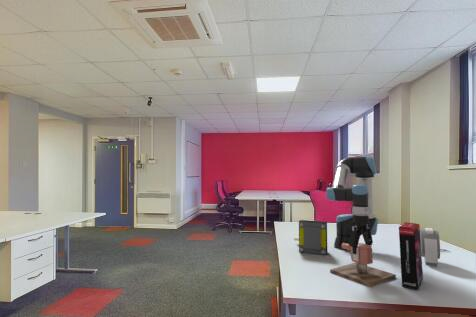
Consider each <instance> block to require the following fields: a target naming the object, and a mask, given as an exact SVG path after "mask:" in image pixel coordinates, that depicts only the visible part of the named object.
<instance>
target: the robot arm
mask: <svg viewBox="0 0 476 317" xmlns="http://www.w3.org/2000/svg"><path fill="white" fill-rule="evenodd" d="M334 172H335V174H334V179H333V182H332V184H331V185H332V186H331V187H327V188H326V190H325V191H326V192H325V193H326V200H327V201H334V202H352V213H351V214H350V213H345V214H339V215H337V216H336V219H335V220H336V221H335V223H336V226H335V227H336V236H335V239H334V245H333V248H335V249H338V250H343V251H348V250H347V249H343V248H342V246H341V245H342V243H346V244H349V246H351V247H352V251H353V260H355V261H359V253H358V248H357V246H358V243H360V242H359V241H360V239H361V236H362V237H363V238H362V239H363V241H364V244H368V245H371V246H373V243H374V240H373V237H372V236H376V235H377V231H378V224H379V219H378V218H377V217H376V215H375V213H374V210H373V208H374V207H373V182H372V181H373V179H374V178H375V175H376V174H377V167H376V162H375V159H374V157H372V156H352V157H351V156H350V157H348V156H347V157H346V158H343V159H342V160H340V161H339V162H337V164H336V166H335V168H334ZM349 175H354V176H355V177H354V178H356V179H357V184H353V185H352V186H351V187H346V186H347V181H348V176H349Z"/></svg>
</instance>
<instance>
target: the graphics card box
mask: <svg viewBox="0 0 476 317" xmlns="http://www.w3.org/2000/svg"><path fill="white" fill-rule="evenodd" d="M420 230H421V226H420V224H419V223H416V222H407V221H406V222H404V223H402V224H401V225H400V226H398V236H399V240H398V241H399V255H400V256H399V257H400V273H401V276H400V277H401V287H403V288H408V289H412V290H417V291H418V290H419V288H420V286H421V284H422V282H423V280H424V275H423V274H424V272H423V257H422V255H421V240H420Z"/></svg>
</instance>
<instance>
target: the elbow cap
mask: <svg viewBox="0 0 476 317" xmlns="http://www.w3.org/2000/svg"><path fill="white" fill-rule="evenodd" d="M341 246H342V248H343V249H347V250H346V251H350V259H351V261H352V263H355V262H356V263H360V264H367V265H371V264H373V259H374V258H373V248H372V246H373V245H368V244H365V243H362V242H358V246H357V248H358V253H359V261H355V260H353V251H352V247H351V246H349V244H346V243H342V245H341Z"/></svg>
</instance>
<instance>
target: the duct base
mask: <svg viewBox="0 0 476 317" xmlns="http://www.w3.org/2000/svg"><path fill="white" fill-rule="evenodd" d="M329 272H330V274H331V273H332V274H334V275H336V276H339V277H343V278H344V279H348V280H350V281H353V282H355V283H358V284H360V285H361V284H362V285H364V286H367V287H370V288H371V287H373V286H376V285H380V284H382V283H384V282H388V281H390V280H393V279H395V278H396V277H397V275H396V274H395V273H391V272H389V271H385V270H382V269H378V268H375V267H372V266H368V264H360V263H356V262H351V263H350V264H349V263H348V264H345V265H342V266H337V267H335V268H334V267H333V268H331V269H329Z"/></svg>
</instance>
